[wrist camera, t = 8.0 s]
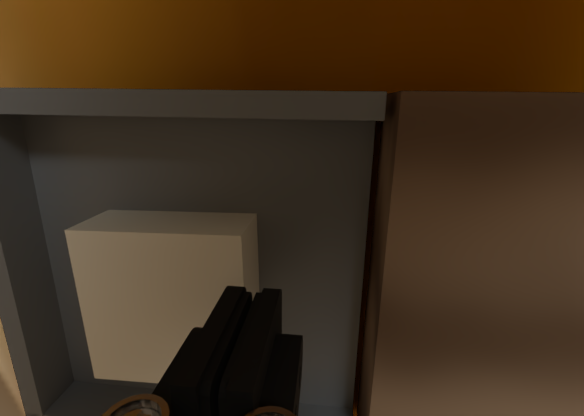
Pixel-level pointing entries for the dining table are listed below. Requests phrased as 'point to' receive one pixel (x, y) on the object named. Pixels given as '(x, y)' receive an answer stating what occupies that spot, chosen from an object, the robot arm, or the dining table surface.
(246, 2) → the dining table surface
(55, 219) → the box
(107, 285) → the tile
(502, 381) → the brown sliding lid
